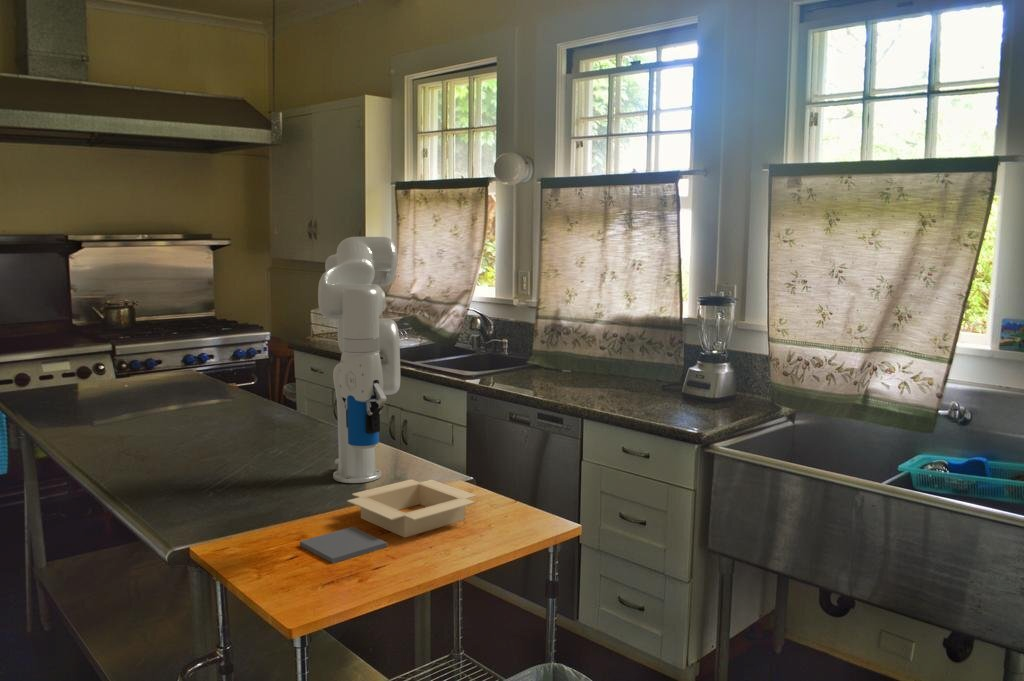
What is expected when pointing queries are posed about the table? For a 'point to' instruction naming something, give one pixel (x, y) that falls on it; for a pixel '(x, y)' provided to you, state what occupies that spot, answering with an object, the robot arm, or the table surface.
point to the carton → (436, 496)
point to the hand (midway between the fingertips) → (363, 429)
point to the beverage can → (359, 425)
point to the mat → (343, 544)
